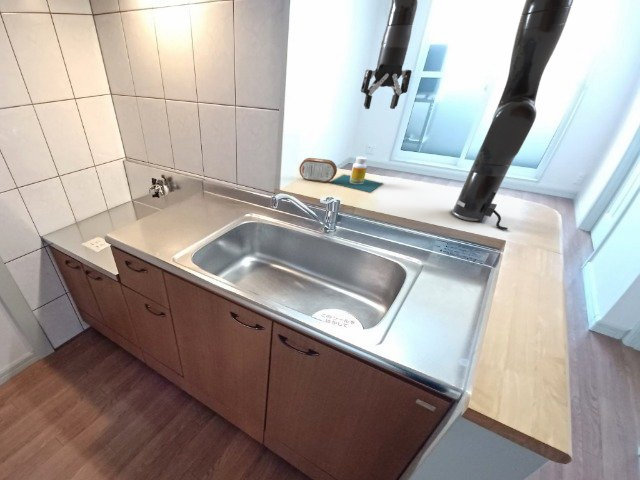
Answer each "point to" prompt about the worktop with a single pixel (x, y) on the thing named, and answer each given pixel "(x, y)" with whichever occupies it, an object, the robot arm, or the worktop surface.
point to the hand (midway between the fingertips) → (379, 108)
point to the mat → (366, 185)
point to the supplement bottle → (358, 171)
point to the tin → (318, 169)
